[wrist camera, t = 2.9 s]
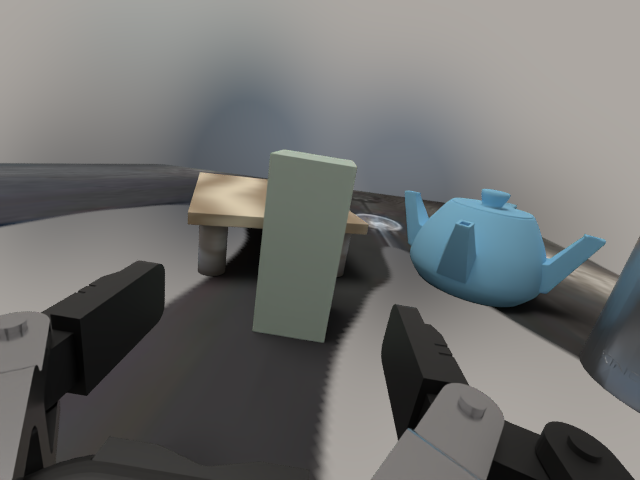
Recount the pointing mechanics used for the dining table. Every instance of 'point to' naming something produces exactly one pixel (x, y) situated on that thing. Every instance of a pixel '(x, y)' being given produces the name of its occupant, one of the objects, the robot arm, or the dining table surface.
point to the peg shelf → (238, 217)
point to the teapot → (487, 250)
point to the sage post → (301, 243)
